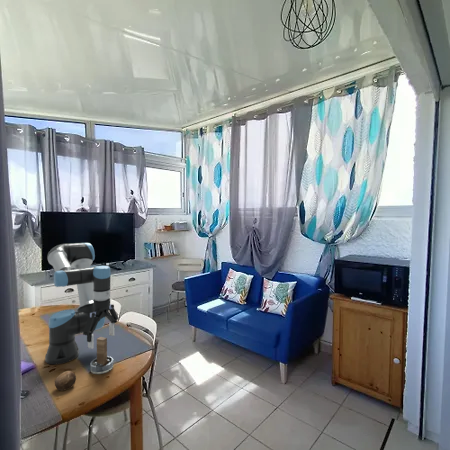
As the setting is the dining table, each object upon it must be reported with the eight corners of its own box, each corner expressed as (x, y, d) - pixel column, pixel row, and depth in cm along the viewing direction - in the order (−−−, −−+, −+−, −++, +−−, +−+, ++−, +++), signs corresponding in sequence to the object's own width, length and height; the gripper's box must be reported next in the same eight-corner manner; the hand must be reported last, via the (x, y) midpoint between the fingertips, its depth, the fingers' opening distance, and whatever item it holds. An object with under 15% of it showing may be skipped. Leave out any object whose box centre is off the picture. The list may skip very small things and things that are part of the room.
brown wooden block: (103, 368, 133) (103, 340, 133) (96, 366, 135) (96, 338, 134) (107, 365, 136) (106, 338, 135) (100, 364, 137) (100, 336, 136)
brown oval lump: (61, 372, 126) (62, 365, 122) (78, 378, 126) (80, 371, 123) (50, 390, 119) (50, 383, 116) (68, 396, 120) (69, 390, 116)
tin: (102, 376, 129) (102, 368, 129) (85, 371, 132) (85, 364, 132) (117, 365, 138) (117, 358, 138) (101, 361, 142) (101, 354, 142)
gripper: (87, 308, 121) (87, 355, 122) (125, 292, 144) (125, 332, 146) (74, 305, 123) (74, 352, 125) (114, 290, 147) (113, 329, 148)
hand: (101, 341), depth 135 cm, fingers open, 13 cm apart
